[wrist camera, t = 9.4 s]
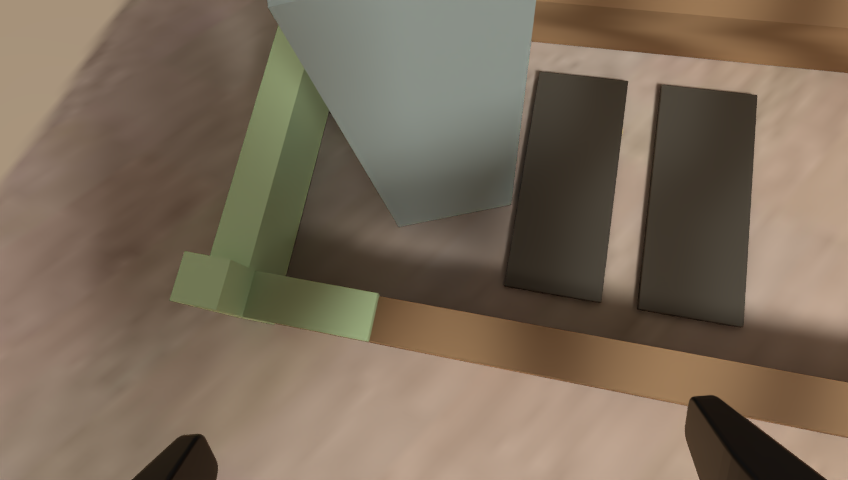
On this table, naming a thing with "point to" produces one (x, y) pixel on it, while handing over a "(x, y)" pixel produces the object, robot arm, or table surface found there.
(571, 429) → the table surface
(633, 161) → the table surface
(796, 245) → the table surface
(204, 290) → the green end wall
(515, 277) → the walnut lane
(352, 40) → the blue-grey block
